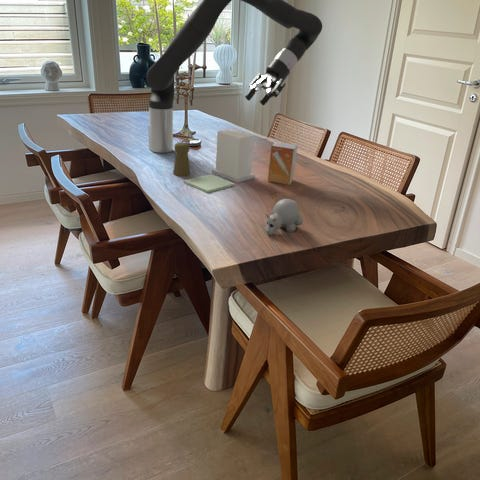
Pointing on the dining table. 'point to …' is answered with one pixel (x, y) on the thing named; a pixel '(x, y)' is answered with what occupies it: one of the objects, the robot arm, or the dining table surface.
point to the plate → (208, 183)
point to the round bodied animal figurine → (284, 216)
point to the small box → (282, 162)
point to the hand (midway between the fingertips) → (254, 101)
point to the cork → (181, 159)
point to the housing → (234, 155)
